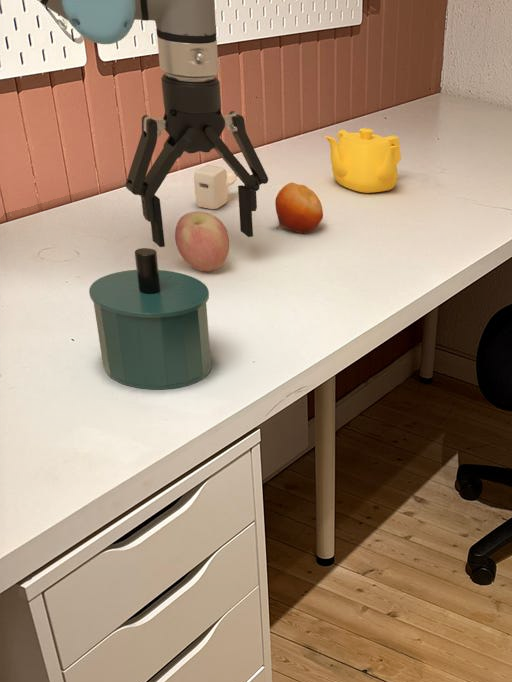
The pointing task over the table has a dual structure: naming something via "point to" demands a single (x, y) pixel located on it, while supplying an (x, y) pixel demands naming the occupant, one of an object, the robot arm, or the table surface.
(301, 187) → the fruit
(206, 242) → the apple
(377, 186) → the teapot
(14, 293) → the table surface
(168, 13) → the robot arm
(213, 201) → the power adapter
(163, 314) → the pot lid
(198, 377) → the pot
